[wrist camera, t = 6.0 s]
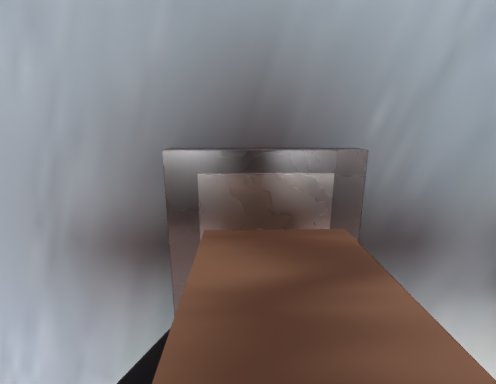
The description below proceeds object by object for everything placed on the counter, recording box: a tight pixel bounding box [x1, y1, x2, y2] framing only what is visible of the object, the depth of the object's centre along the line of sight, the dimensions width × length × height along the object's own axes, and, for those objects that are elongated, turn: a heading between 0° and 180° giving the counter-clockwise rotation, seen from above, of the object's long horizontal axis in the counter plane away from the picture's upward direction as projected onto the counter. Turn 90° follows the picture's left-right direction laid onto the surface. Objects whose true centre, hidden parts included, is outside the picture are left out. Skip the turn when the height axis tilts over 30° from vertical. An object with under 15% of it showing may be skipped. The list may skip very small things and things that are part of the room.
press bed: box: [162, 148, 368, 315], centre depth 13 cm, size 9×10×1 cm
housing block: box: [152, 229, 496, 384], centre depth 7 cm, size 5×5×6 cm
